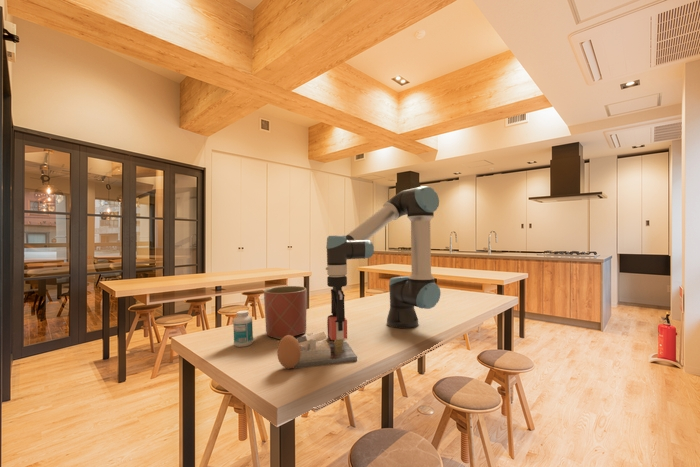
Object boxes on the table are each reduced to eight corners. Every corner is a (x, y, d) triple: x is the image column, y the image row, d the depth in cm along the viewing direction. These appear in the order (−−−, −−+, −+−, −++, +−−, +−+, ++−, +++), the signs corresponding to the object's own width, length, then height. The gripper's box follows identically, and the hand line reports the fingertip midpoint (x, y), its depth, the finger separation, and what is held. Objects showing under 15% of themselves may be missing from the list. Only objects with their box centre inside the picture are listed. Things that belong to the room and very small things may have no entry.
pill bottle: (247, 340, 136) (247, 308, 136) (256, 344, 130) (255, 311, 131) (230, 344, 130) (230, 311, 131) (238, 348, 125) (238, 314, 125)
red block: (343, 333, 125) (343, 316, 125) (347, 338, 119) (347, 320, 119) (328, 335, 123) (328, 317, 123) (331, 340, 118) (331, 321, 118)
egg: (300, 371, 102) (298, 338, 102) (277, 374, 102) (274, 340, 101) (302, 361, 110) (300, 330, 109) (280, 363, 109) (277, 332, 109)
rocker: (324, 334, 117) (323, 330, 117) (326, 339, 111) (326, 335, 111) (297, 341, 114) (296, 337, 114) (298, 346, 109) (297, 342, 109)
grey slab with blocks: (346, 345, 126) (346, 325, 126) (357, 360, 111) (356, 337, 111) (290, 351, 121) (289, 330, 121) (293, 368, 105) (292, 344, 105)
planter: (277, 343, 130) (276, 295, 131) (257, 333, 145) (256, 289, 145) (315, 333, 143) (314, 289, 143) (293, 325, 157) (292, 284, 157)
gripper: (323, 273, 130) (324, 330, 130) (332, 279, 111) (333, 345, 111) (341, 272, 132) (342, 328, 131) (352, 278, 113) (353, 343, 113)
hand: (338, 336), depth 121 cm, fingers closed on red block, 6 cm apart
